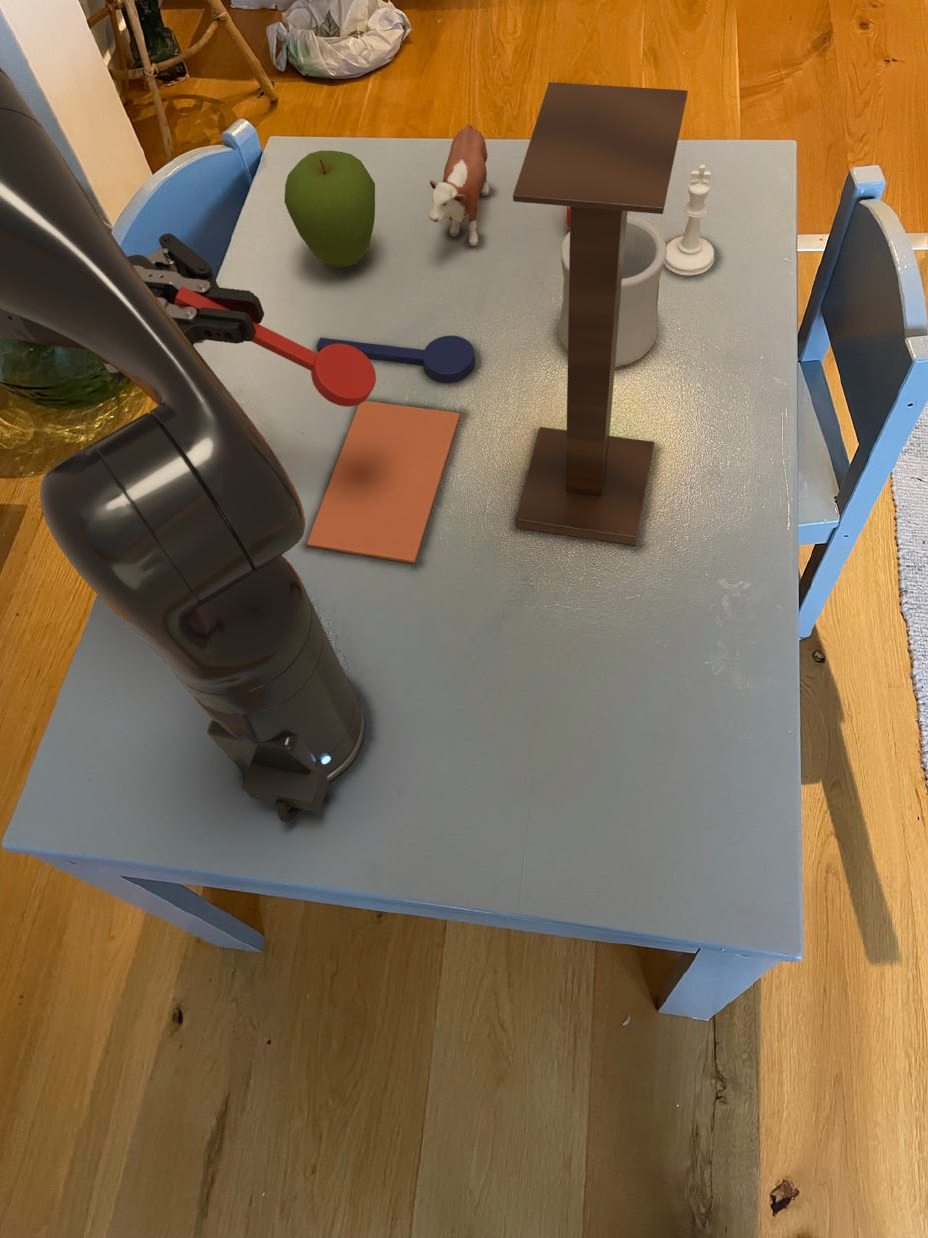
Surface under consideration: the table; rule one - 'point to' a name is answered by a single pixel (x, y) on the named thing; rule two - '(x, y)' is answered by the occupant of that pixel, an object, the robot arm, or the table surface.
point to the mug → (629, 290)
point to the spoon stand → (595, 293)
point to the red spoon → (311, 359)
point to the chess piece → (692, 232)
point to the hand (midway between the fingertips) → (255, 318)
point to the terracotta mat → (385, 481)
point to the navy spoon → (423, 356)
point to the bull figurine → (462, 182)
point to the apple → (332, 206)
